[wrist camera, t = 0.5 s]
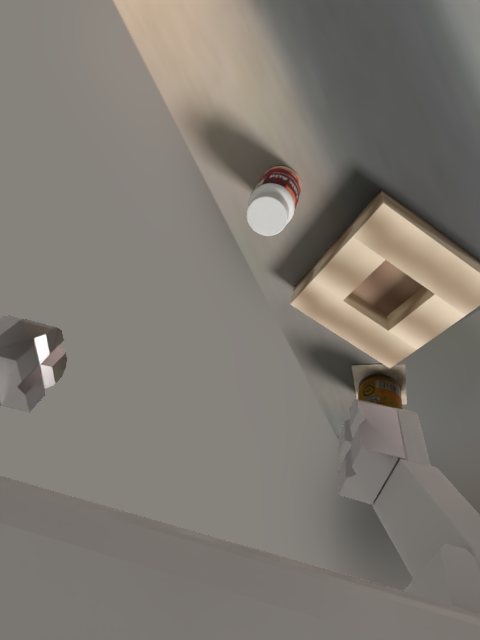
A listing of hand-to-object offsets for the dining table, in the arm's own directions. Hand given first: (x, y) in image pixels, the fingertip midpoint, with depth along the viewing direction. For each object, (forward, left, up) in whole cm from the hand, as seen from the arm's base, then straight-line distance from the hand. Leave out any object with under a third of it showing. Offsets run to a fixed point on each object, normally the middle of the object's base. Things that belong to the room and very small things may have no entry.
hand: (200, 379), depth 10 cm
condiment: (+24, +30, -36) cm, 53 cm away
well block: (+10, +18, -36) cm, 42 cm away
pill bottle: (+8, +1, -36) cm, 37 cm away
